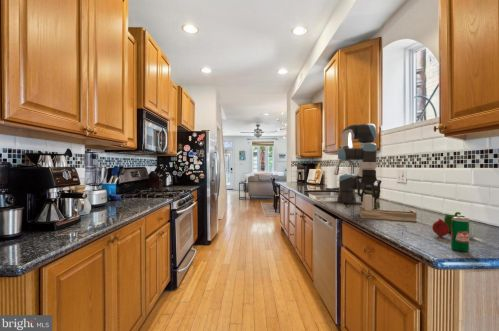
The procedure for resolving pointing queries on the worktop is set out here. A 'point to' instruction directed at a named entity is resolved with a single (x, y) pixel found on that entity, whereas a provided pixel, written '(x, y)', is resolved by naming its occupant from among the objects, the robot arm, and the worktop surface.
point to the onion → (440, 228)
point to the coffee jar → (369, 192)
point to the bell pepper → (448, 219)
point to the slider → (367, 202)
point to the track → (389, 214)
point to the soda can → (460, 234)
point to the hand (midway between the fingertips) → (368, 208)
